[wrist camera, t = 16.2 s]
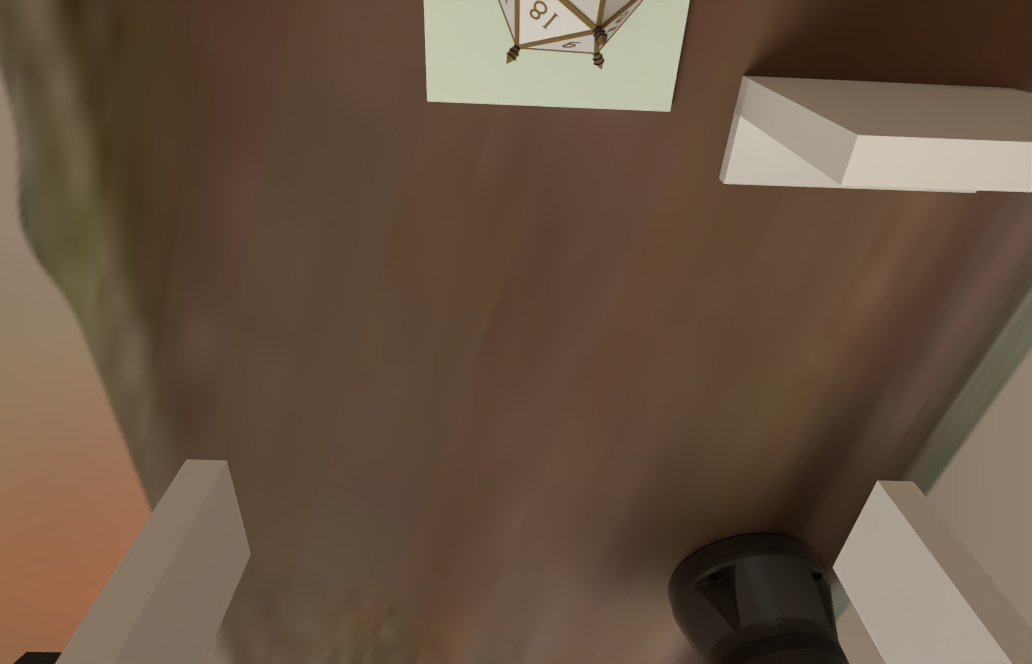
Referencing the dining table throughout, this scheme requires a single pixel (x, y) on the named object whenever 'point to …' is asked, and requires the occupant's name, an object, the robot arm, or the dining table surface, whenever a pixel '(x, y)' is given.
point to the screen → (879, 136)
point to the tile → (551, 60)
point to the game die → (565, 24)
